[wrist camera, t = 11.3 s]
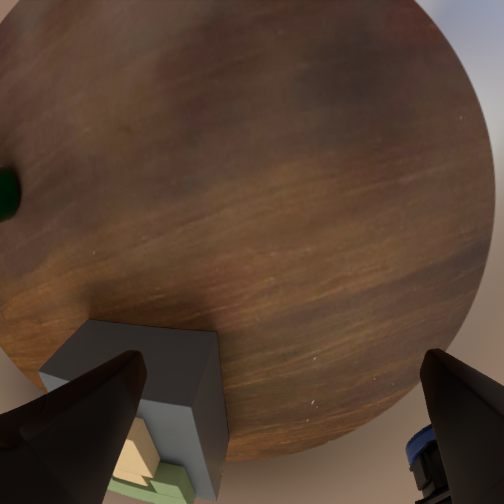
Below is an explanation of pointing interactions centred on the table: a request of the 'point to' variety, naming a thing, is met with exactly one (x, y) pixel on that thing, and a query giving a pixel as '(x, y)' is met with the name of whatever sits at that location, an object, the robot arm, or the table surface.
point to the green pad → (159, 486)
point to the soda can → (8, 194)
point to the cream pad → (137, 456)
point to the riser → (162, 390)
